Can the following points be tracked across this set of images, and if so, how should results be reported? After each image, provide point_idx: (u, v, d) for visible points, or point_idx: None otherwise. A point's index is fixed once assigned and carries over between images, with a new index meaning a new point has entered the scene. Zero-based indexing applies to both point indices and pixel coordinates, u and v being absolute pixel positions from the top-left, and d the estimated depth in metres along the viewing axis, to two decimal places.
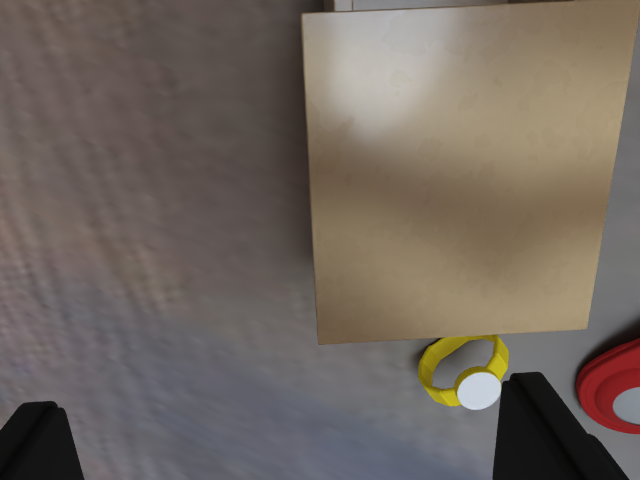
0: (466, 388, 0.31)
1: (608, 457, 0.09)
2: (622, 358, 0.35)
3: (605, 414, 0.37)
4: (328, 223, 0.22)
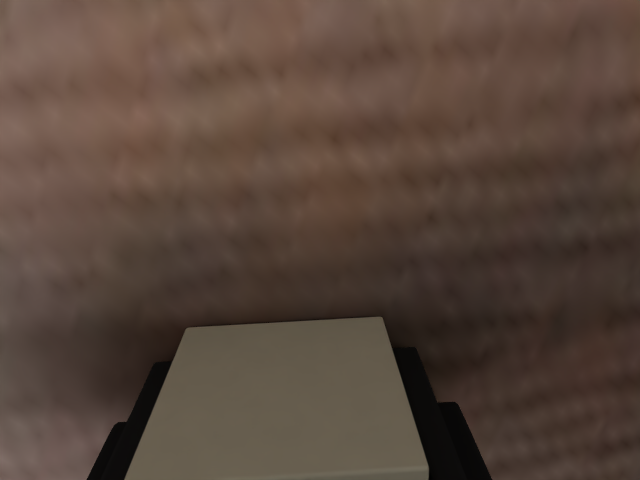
0: None
1: (463, 420, 0.10)
2: None
3: None
4: None
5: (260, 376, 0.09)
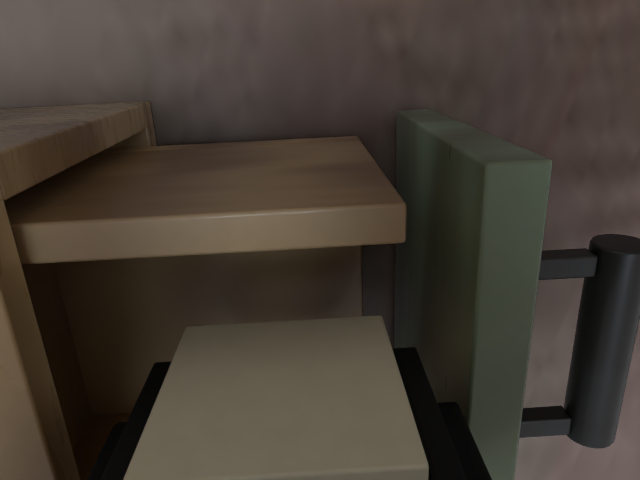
0: None
1: (464, 421, 0.10)
2: None
3: None
4: None
5: (260, 375, 0.09)
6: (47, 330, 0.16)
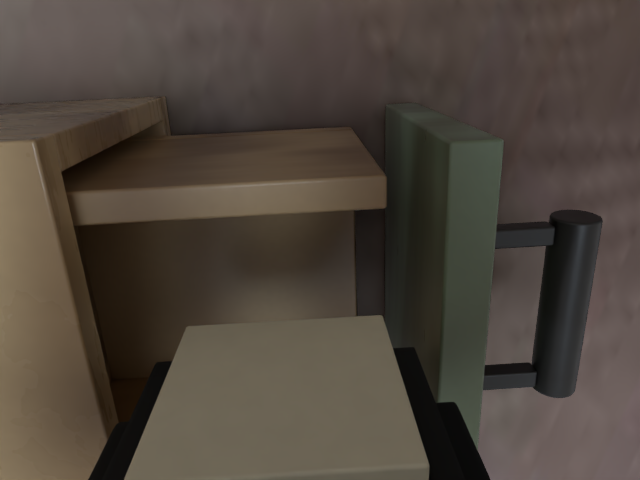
0: None
1: (462, 421, 0.10)
2: None
3: None
4: None
5: (260, 375, 0.09)
6: None
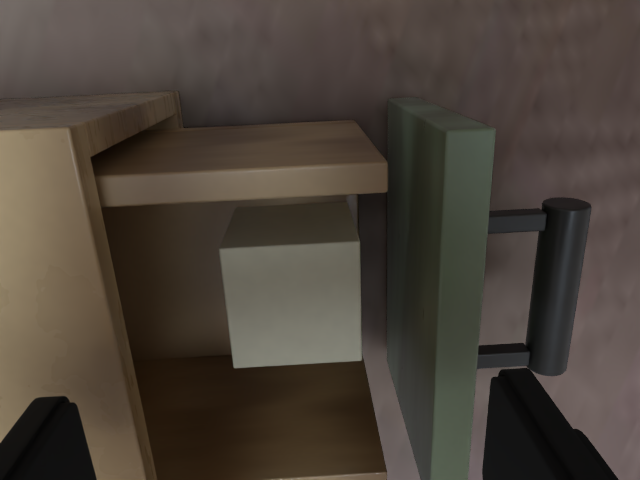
0: None
1: (594, 452, 0.09)
2: None
3: None
4: None
5: (279, 220, 0.18)
6: None
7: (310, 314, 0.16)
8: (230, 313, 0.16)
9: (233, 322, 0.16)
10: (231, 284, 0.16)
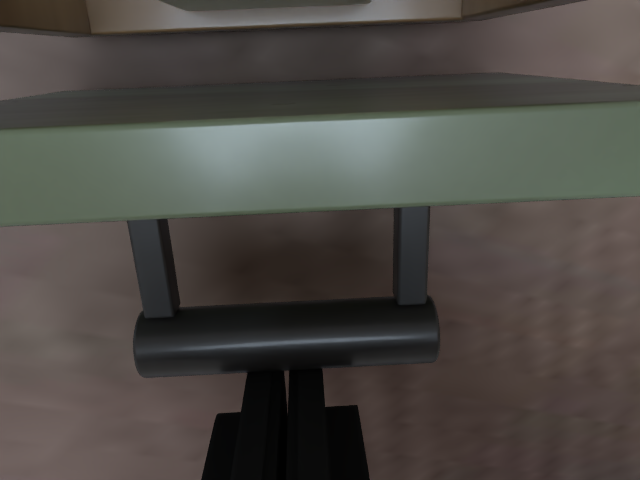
0: None
1: (360, 424, 0.10)
2: None
3: None
4: None
5: None
6: None
7: None
8: None
9: None
10: None
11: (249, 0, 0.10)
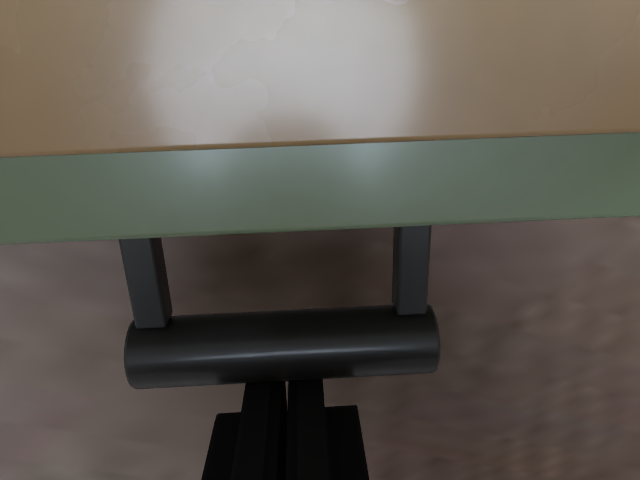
0: None
1: (359, 424, 0.10)
2: None
3: None
4: None
5: None
6: None
7: None
8: None
9: None
10: None
11: None
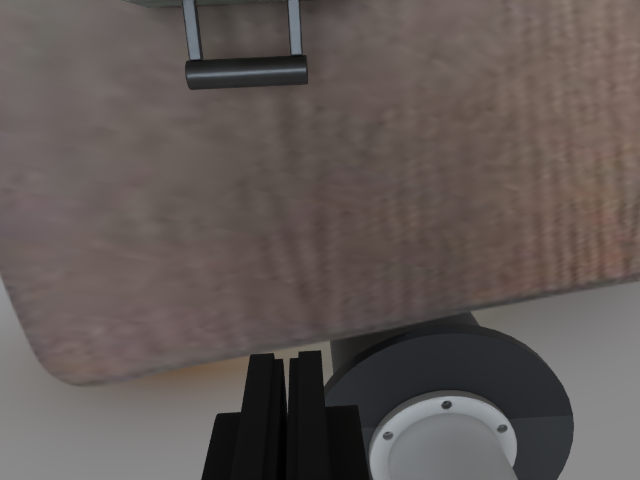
0: None
1: (360, 424, 0.10)
2: None
3: None
4: None
5: None
6: None
7: None
8: None
9: None
10: None
11: None
